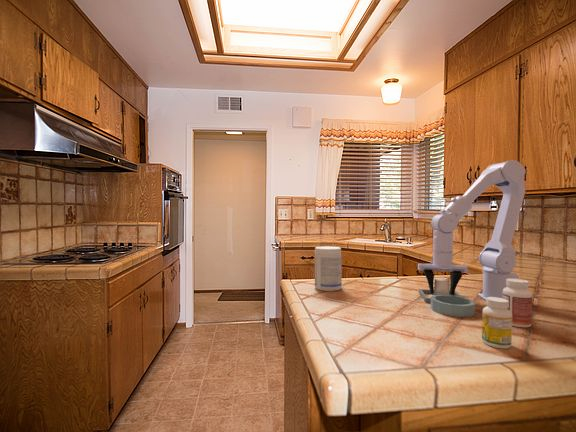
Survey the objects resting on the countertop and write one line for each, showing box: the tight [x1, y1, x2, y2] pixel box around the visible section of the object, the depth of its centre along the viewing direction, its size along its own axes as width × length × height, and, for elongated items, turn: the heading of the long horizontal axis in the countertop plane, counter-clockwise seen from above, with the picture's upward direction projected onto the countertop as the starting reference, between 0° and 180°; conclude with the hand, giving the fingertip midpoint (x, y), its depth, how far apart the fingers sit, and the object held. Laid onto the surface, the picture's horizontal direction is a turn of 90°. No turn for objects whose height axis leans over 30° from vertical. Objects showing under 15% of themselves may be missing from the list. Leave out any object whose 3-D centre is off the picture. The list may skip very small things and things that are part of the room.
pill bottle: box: [502, 278, 533, 328], centre depth 81 cm, size 6×6×11 cm
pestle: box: [433, 278, 450, 296], centre depth 104 cm, size 4×4×6 cm
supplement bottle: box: [481, 297, 513, 350], centre depth 69 cm, size 5×5×10 cm
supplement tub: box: [314, 245, 343, 292], centre depth 115 cm, size 10×10×15 cm
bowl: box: [429, 294, 477, 318], centre depth 91 cm, size 11×11×3 cm
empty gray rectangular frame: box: [418, 288, 464, 304], centre depth 104 cm, size 12×12×1 cm
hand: (441, 293), depth 104 cm, fingers open, 5 cm apart
